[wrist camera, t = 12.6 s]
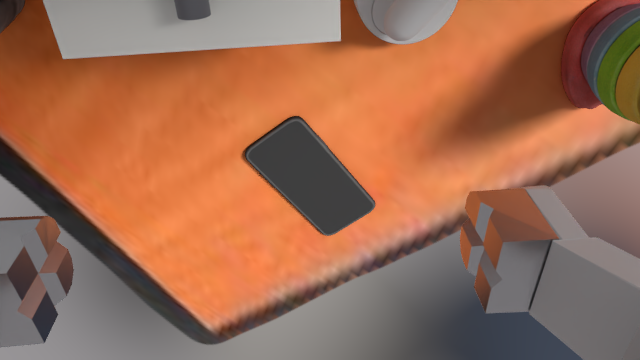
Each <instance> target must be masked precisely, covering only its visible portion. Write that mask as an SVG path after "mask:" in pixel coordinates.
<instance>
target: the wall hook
mask: <svg viewBox="0 0 640 360" xmlns="http://www.w3.org/2000/svg"><path fill="white" fill-rule="evenodd" d="M457 1H458V0H354V4H355V7H356V9H357V11H358V13H359V15H360V17H361V19H362V21H363V23H364V24H365V26H366V27H367V28H368V29H369V30H370V32H372V33H373V34H374V35H375V36H377V37H378V38H380V39H382V40H384V41H386V42H389V43H394V44H411V43H415V42H419V41H421V40H424V39H426V38H428V37H430V36H431V35H433V34H434V33H436V32H437V31H438V30H439V29H440V28H441V27H442V26H443V25H444V24H445V23H446V22H447V20H448V19H449V18H450V16H451V14H452V13H453V11H454V9H455V7H456V4H457Z"/></svg>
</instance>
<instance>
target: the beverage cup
mask: <svg viewBox="0 0 640 360" xmlns="http://www.w3.org/2000/svg"><path fill="white" fill-rule="evenodd" d="M24 2H25V0H0V33H1V32H2V31H3V30H4V29H5V28H6V27H7V26H8V25H9V24H10V23H11V22H12V21H13V20H14V19H15V18H16V16H17V15H18V14H19V13H20V12H21V10H22V8H23V6H24Z"/></svg>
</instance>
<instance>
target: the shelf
mask: <svg viewBox="0 0 640 360" xmlns="http://www.w3.org/2000/svg"><path fill="white" fill-rule="evenodd" d="M43 2H44V5H45V8H46V11H47V14H48V17H49V20H50V23H51V26H52V29H53V31H54V34H55V37H56V40H57V43H58V46H59V49H60V52H61V55H62V58H63V59H74V58H89V57H105V56H120V55H135V54H150V53H165V52H181V51H196V50H211V49H226V48H241V47H257V46H272V45H287V44H302V43H317V42H333V41H341V20H340V0H43Z"/></svg>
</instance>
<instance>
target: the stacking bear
mask: <svg viewBox="0 0 640 360" xmlns="http://www.w3.org/2000/svg"><path fill="white" fill-rule="evenodd" d="M561 74H562V81H563V86H564V89H565V92H566V94H567V96H568V98H569V100H570V101H571V102H572V103H573V104H574V105H575V106H576V107H578V108H588V109H593V108H596V107H597V106H599V105H601V104H603V105H605V106H606V107H607V108H608V109H609V110H611V111H612V112H614V113H615V114H617V115H619V116H621V117H623V118H625V119H627V120H630V121H633V122H635V123H637V124H640V0H599V1H598V2H596V3H595V4H593V5H592V6H591V7H589V8H588V9H587V10H586V11H585V12H584V13H583V14H582V15H581V16H580V17H579V18H578V19H577V21H576V22H575V24H574V25H573V26H572V28H571V30H570V32H569V34H568V36H567V39H566V42H565V46H564V50H563V55H562V64H561Z"/></svg>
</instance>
